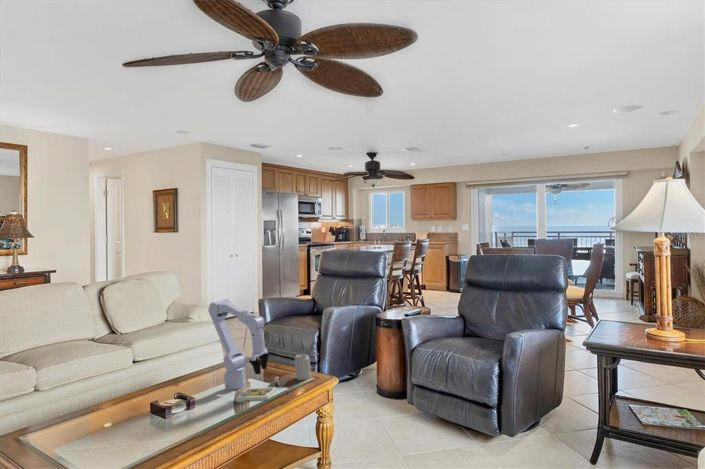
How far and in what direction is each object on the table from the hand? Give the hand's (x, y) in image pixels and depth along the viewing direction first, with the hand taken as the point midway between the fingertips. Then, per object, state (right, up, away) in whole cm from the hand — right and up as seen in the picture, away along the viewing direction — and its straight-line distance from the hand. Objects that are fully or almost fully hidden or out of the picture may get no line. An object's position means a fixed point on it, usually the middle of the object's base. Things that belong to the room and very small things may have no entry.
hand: (261, 371), depth 201 cm
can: (+19, -8, +13) cm, 24 cm away
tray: (0, -10, -7) cm, 12 cm away
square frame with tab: (0, -9, -7) cm, 11 cm away
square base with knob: (+7, -9, +5) cm, 12 cm away
